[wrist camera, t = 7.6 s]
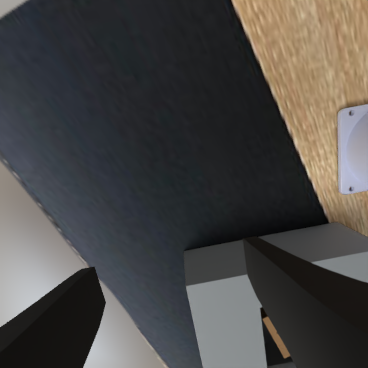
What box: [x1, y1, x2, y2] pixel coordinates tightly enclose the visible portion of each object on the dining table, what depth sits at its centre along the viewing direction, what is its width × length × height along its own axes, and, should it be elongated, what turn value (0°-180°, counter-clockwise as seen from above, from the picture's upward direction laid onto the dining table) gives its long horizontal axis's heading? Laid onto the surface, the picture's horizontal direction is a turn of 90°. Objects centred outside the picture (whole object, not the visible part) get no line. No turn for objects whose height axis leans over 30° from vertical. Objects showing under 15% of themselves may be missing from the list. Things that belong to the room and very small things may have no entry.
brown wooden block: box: [260, 307, 290, 359], centre depth 19 cm, size 3×5×4 cm, turn 29°
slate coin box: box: [183, 222, 368, 368], centre depth 19 cm, size 16×14×5 cm
